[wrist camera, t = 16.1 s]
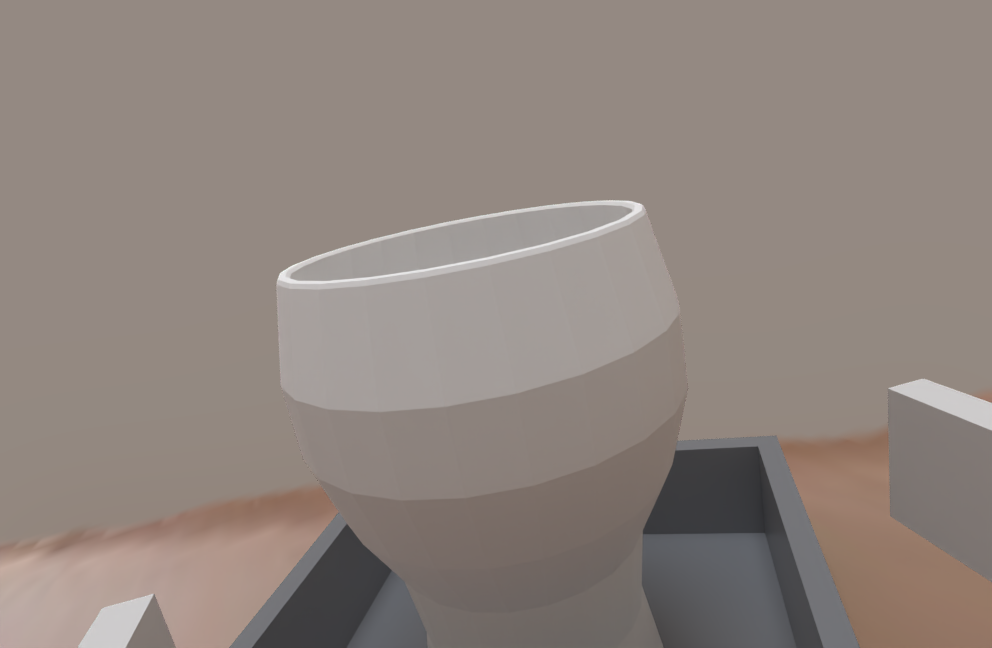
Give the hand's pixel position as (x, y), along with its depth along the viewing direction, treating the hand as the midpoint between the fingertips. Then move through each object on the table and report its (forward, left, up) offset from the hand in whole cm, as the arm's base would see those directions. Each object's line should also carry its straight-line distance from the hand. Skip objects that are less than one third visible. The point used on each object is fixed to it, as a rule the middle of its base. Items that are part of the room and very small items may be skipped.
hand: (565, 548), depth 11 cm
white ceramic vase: (-3, +6, -10) cm, 12 cm away
